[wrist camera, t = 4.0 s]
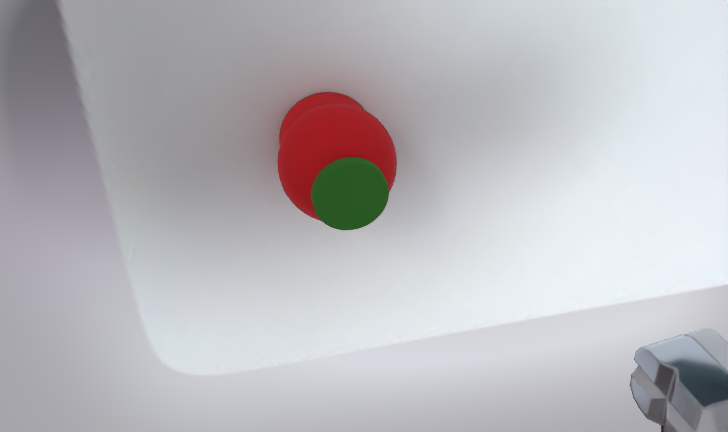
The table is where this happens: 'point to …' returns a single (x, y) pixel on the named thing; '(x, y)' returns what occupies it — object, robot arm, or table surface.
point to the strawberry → (336, 161)
